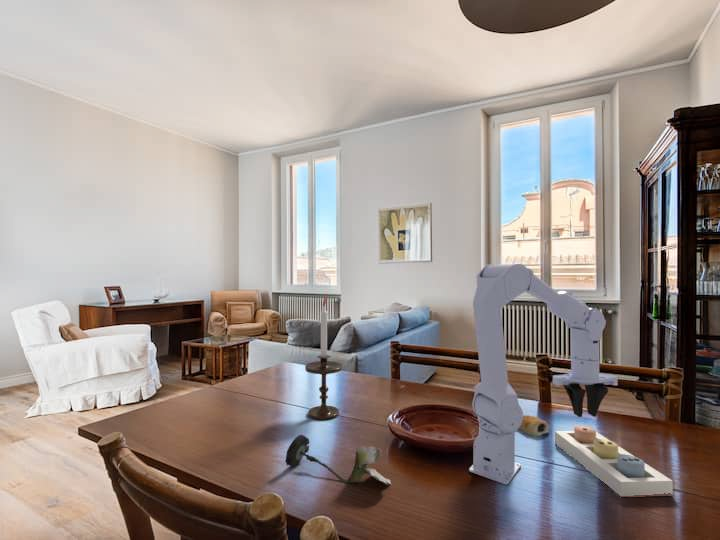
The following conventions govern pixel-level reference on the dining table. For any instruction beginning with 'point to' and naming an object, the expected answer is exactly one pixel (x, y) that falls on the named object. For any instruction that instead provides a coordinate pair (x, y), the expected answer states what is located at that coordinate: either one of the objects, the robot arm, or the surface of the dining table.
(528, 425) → the pastry
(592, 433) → the terracotta button
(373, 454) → the artificial flower
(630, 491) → the button panel
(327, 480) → the dining table surface
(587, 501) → the dining table surface
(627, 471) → the slate button
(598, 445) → the mustard button
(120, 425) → the dining table surface
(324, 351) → the candlestick
